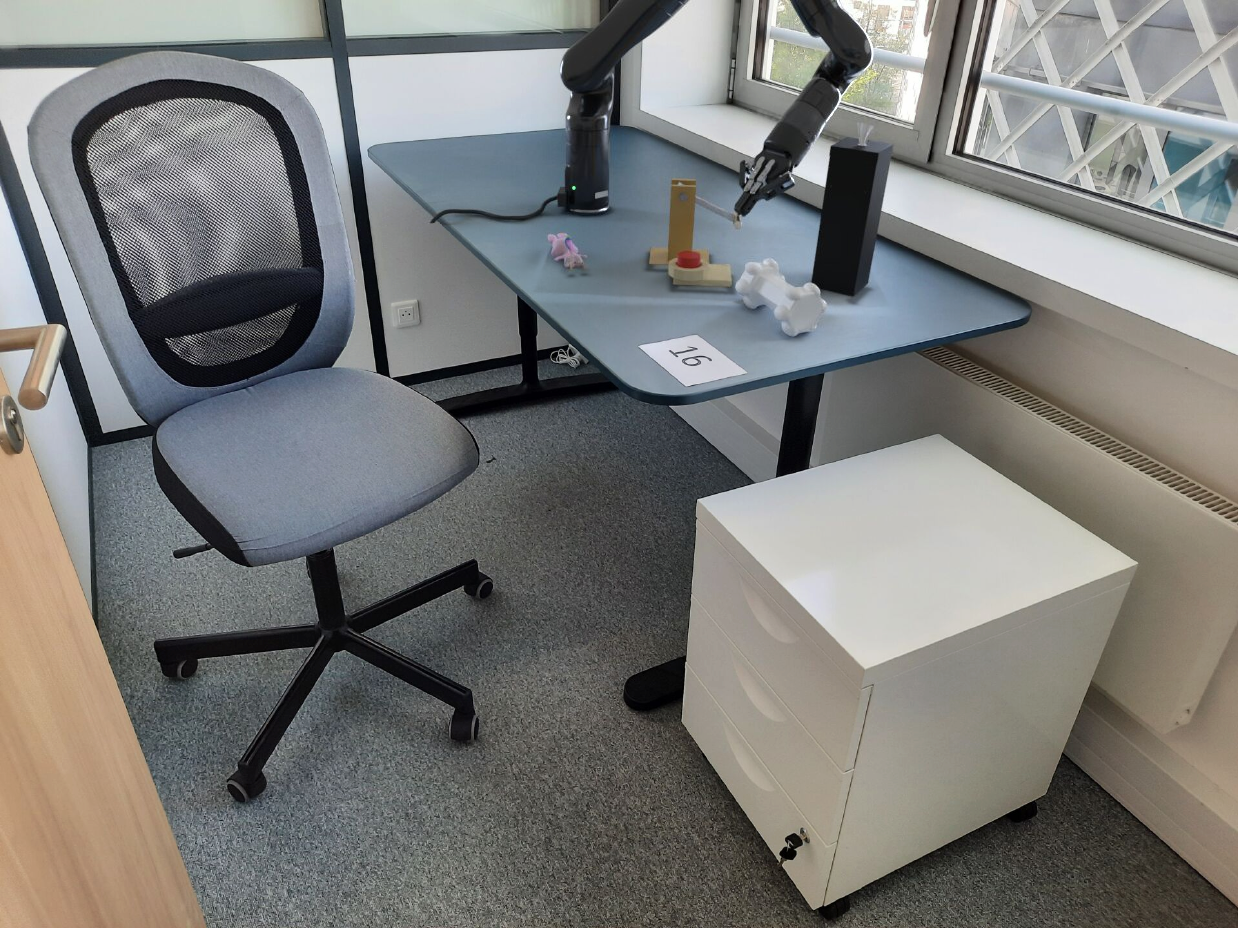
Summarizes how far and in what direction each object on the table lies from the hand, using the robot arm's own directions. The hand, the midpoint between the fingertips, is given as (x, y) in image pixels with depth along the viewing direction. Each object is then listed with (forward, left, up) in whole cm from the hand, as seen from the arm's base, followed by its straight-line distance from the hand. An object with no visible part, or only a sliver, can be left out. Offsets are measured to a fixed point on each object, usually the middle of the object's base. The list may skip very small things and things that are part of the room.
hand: (738, 213), depth 159 cm
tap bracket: (-10, 0, -10) cm, 14 cm away
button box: (-6, -10, -10) cm, 15 cm away
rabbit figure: (-31, -2, -10) cm, 33 cm away
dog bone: (+6, -25, -10) cm, 27 cm away
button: (-9, -12, -6) cm, 16 cm away
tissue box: (+18, -11, -10) cm, 23 cm away
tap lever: (-6, 0, 0) cm, 6 cm away
